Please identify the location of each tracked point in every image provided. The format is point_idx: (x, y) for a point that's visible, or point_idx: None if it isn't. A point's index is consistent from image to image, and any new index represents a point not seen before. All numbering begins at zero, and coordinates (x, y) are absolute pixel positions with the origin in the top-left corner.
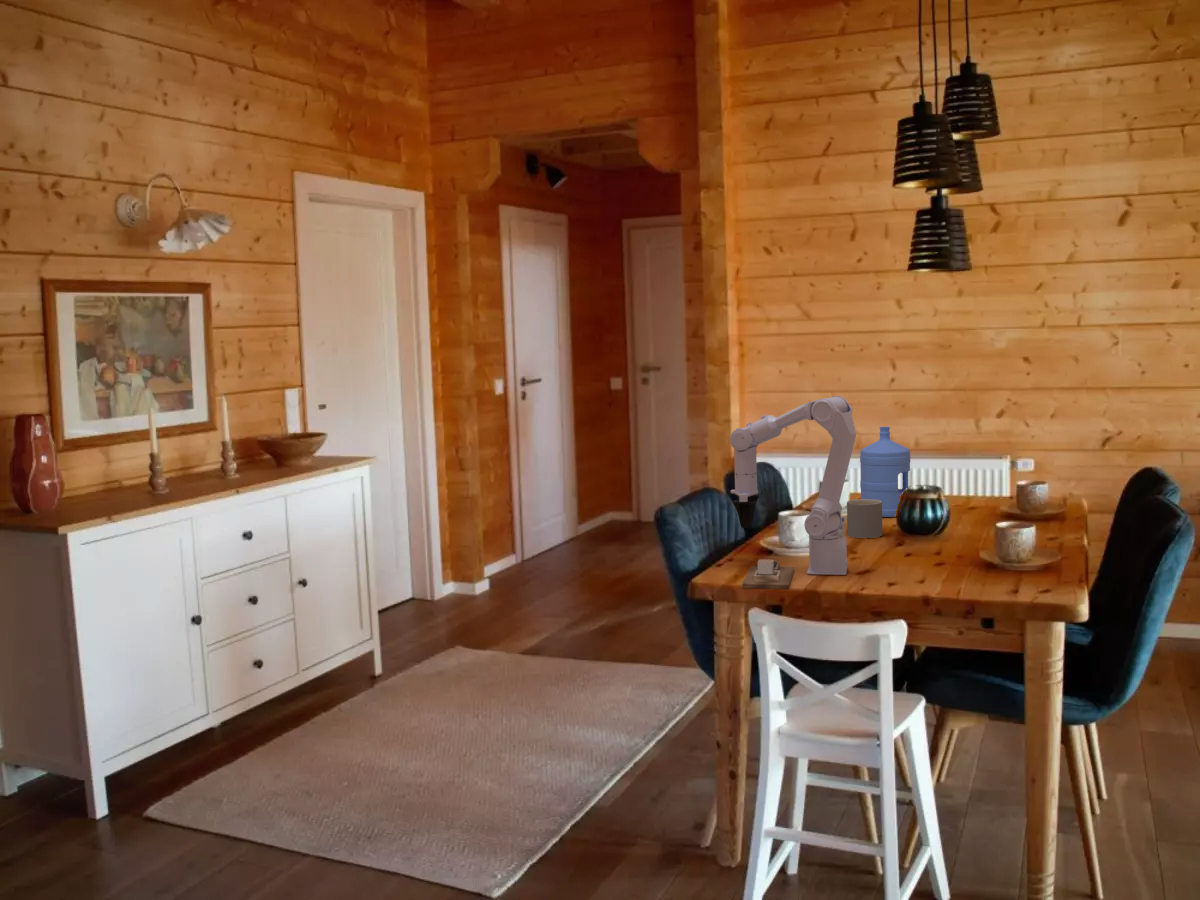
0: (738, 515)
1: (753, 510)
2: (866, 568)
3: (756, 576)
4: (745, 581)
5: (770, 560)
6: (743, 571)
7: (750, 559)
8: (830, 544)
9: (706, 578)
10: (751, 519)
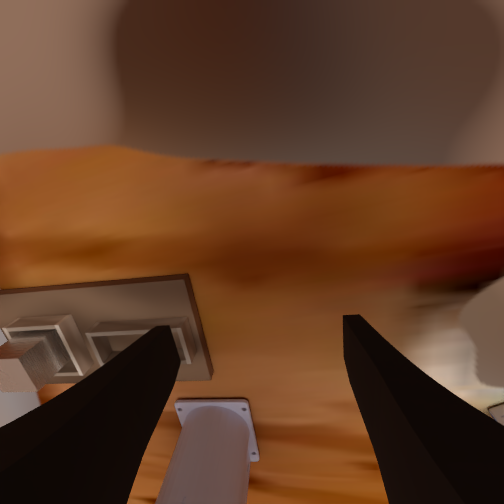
0: (80, 381)
1: (376, 447)
2: (270, 481)
3: (6, 332)
4: (8, 298)
5: (23, 386)
6: (164, 256)
7: (345, 242)
8: None
9: (33, 168)
10: (349, 369)
